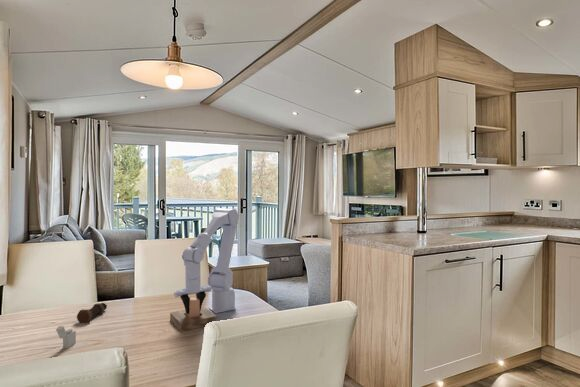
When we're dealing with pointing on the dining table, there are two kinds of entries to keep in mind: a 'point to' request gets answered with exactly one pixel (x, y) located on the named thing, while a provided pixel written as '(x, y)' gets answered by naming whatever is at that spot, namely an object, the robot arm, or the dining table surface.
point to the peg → (194, 308)
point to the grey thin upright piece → (67, 336)
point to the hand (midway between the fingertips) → (193, 312)
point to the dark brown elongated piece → (90, 312)
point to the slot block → (192, 319)
